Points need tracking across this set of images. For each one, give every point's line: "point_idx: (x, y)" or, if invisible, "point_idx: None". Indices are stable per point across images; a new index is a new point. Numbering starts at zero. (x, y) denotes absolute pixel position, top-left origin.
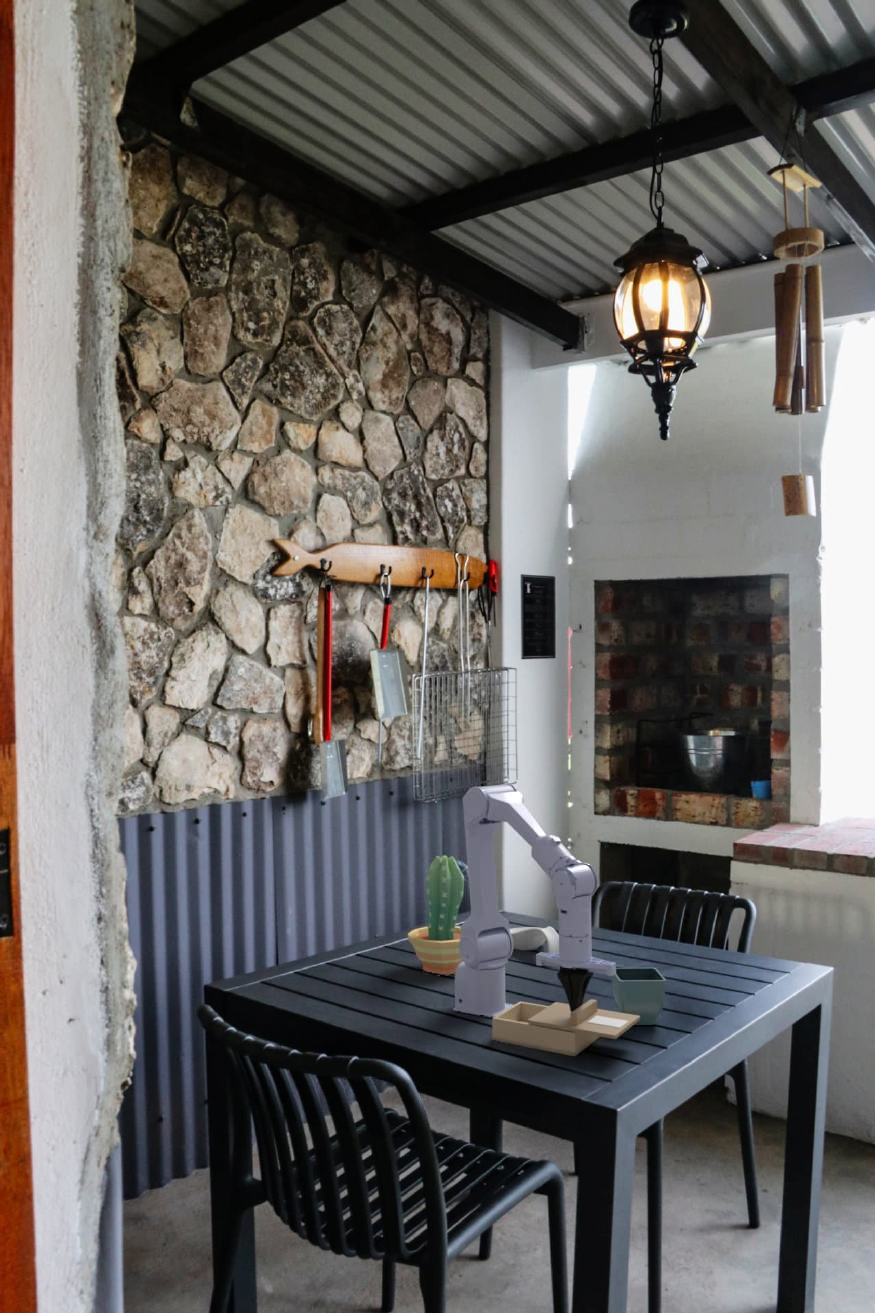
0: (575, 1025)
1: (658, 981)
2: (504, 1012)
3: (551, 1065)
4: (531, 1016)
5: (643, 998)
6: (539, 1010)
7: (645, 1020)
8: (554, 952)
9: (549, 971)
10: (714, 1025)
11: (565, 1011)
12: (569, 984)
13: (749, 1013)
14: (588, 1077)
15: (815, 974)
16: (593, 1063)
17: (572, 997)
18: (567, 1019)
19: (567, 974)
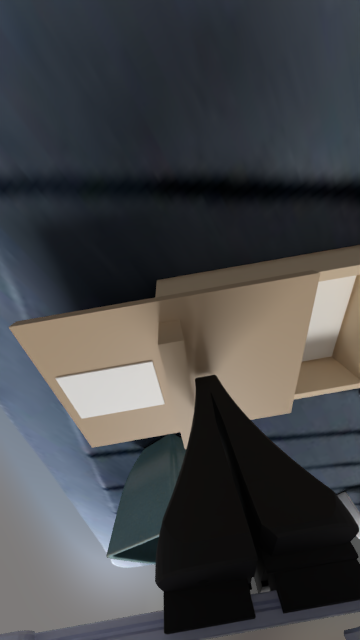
0: (163, 323)
1: (115, 550)
2: None
3: (166, 186)
4: (320, 368)
5: (143, 493)
6: (312, 382)
7: (149, 451)
8: (351, 513)
9: (340, 483)
10: (87, 480)
11: (245, 386)
12: (242, 466)
13: (88, 510)
14: (29, 169)
15: (117, 562)
16: (98, 271)
17: (219, 414)
18: (211, 348)
19: (280, 545)
